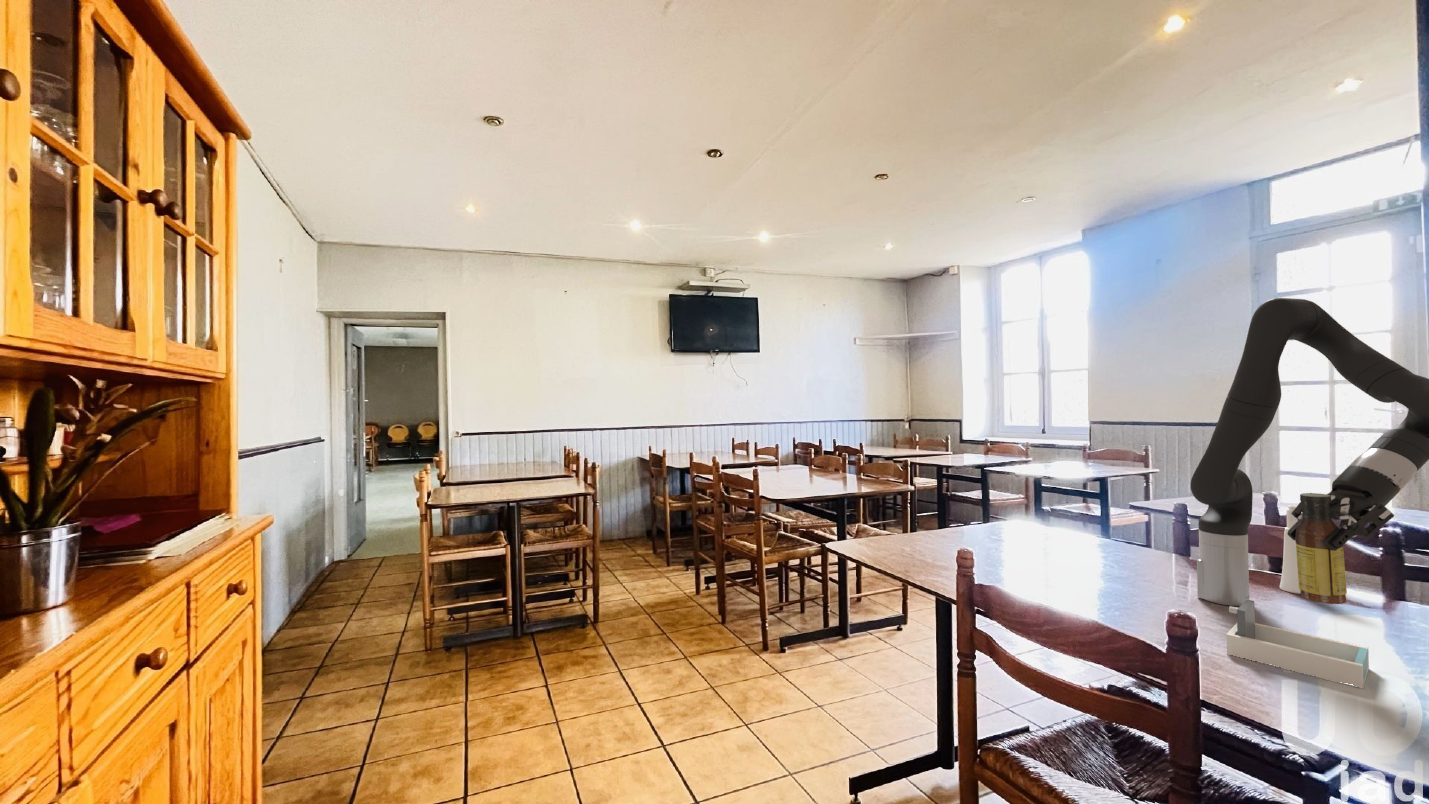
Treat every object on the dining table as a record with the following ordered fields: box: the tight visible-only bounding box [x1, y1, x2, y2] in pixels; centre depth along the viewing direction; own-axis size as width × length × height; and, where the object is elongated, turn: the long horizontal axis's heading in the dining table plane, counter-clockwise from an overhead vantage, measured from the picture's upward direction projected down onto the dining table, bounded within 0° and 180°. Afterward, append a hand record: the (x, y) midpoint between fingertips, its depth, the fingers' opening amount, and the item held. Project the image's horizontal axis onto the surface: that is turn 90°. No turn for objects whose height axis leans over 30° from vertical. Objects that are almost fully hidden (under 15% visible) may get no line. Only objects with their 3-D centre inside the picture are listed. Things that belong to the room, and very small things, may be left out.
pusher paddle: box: [1228, 599, 1256, 639], centre depth 117 cm, size 3×9×8 cm, turn 128°
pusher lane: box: [1225, 622, 1370, 690], centre depth 111 cm, size 18×12×4 cm, turn 38°
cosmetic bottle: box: [1279, 504, 1302, 595], centre depth 149 cm, size 6×6×22 cm
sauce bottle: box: [1295, 492, 1348, 605], centre depth 108 cm, size 7×6×20 cm
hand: (1310, 542), depth 108 cm, fingers closed on sauce bottle, 6 cm apart
